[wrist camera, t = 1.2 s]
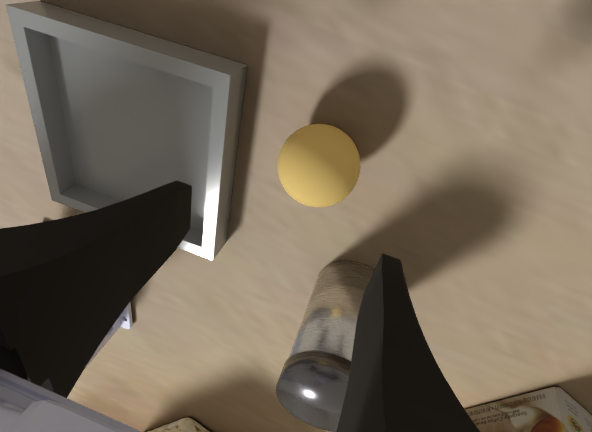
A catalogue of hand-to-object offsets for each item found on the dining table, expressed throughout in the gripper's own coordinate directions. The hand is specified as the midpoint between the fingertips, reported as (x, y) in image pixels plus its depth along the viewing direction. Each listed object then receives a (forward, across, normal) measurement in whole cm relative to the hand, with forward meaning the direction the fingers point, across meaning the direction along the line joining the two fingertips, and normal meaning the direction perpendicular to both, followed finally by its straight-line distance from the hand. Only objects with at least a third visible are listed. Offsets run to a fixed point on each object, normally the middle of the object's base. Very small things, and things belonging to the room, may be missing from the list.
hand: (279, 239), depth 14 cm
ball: (+6, 0, 0) cm, 6 cm away
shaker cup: (+8, -4, +9) cm, 13 cm away
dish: (+8, +11, +3) cm, 14 cm away
